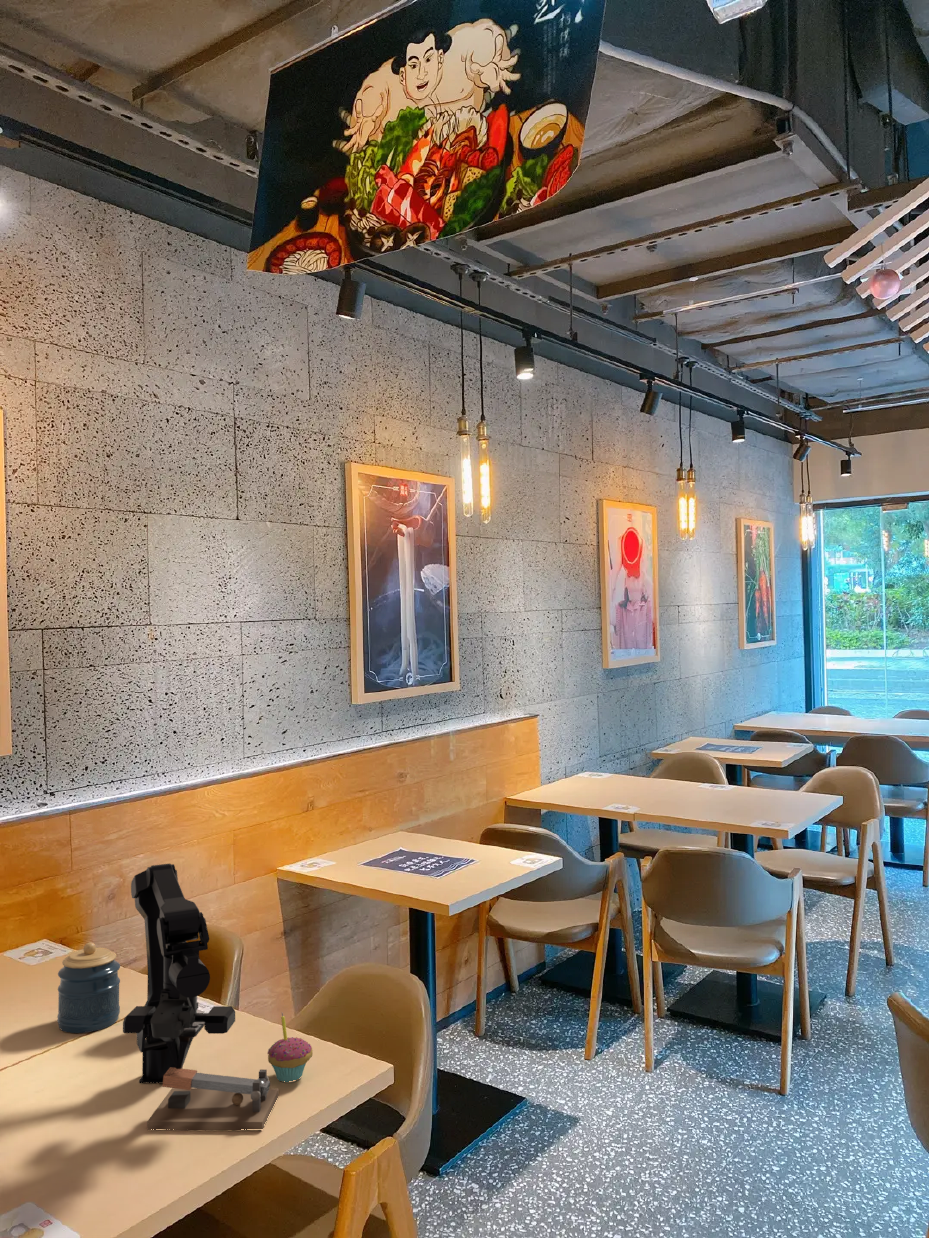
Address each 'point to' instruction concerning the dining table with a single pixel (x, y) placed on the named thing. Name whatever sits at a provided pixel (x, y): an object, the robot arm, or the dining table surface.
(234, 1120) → the base
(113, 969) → the canister
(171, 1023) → the robot arm
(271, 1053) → the cupcake
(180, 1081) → the lever
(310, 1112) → the dining table surface
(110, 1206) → the dining table surface
